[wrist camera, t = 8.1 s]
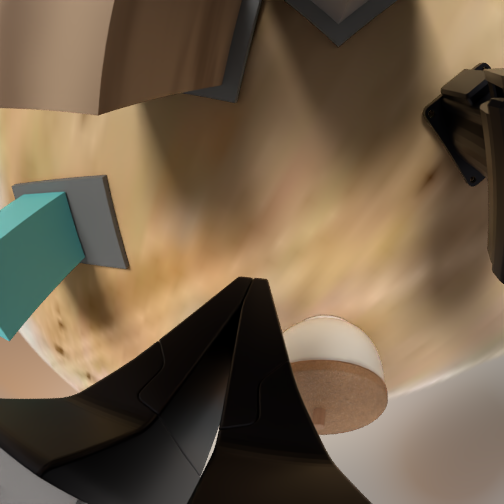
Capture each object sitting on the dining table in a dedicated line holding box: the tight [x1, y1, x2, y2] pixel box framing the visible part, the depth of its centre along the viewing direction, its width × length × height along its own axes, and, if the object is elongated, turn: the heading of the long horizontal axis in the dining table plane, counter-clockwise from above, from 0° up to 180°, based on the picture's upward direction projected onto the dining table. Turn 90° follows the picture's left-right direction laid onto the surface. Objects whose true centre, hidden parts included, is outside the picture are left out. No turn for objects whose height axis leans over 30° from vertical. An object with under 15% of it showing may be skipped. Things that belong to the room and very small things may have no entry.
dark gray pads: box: [12, 0, 397, 269], centre depth 19 cm, size 18×44×1 cm, turn 137°
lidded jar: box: [283, 315, 388, 435], centre depth 24 cm, size 11×11×9 cm
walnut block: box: [0, 0, 242, 115], centre depth 10 cm, size 7×7×12 cm
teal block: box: [0, 192, 85, 341], centre depth 21 cm, size 7×7×12 cm
